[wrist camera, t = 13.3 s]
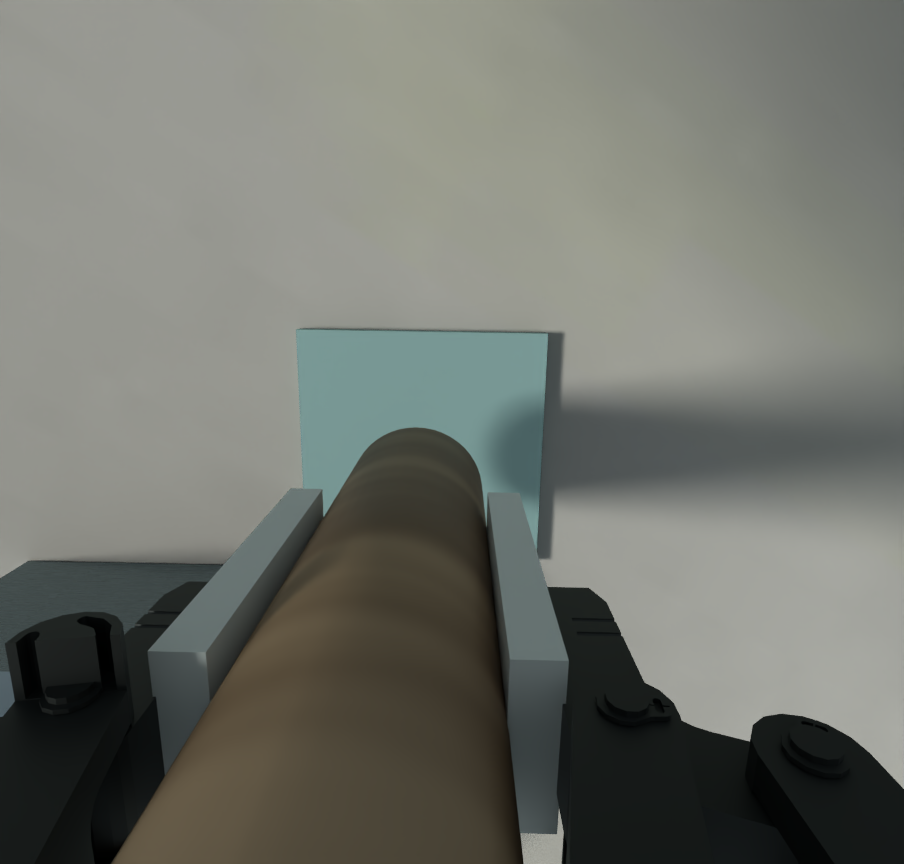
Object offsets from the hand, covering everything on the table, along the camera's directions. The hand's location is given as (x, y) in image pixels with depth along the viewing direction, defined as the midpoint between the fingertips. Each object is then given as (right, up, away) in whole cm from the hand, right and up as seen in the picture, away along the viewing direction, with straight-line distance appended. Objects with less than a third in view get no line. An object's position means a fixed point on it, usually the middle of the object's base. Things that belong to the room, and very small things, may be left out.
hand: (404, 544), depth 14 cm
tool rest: (0, +2, +8) cm, 9 cm away
